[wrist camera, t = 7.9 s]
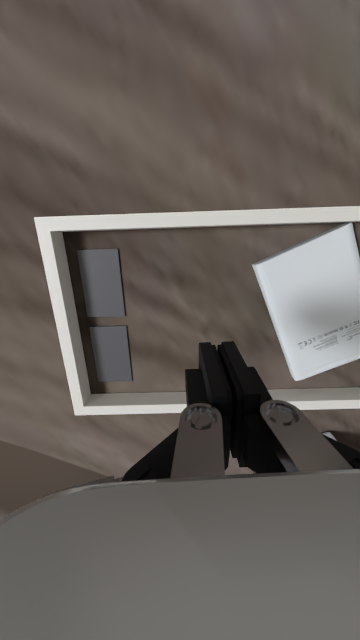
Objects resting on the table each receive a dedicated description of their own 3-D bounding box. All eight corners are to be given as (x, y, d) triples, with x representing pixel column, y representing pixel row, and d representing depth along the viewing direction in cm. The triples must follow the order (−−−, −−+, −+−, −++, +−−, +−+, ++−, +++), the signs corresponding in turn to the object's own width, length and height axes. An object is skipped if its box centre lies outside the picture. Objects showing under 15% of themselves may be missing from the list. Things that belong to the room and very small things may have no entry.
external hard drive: (341, 222, 20) (368, 344, 24) (249, 263, 21) (289, 374, 25) (354, 221, 19) (381, 351, 22) (255, 265, 20) (296, 383, 23)
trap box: (47, 219, 20) (21, 215, 16) (452, 205, 19) (509, 198, 16) (83, 402, 25) (68, 426, 22) (396, 394, 25) (428, 417, 22)
